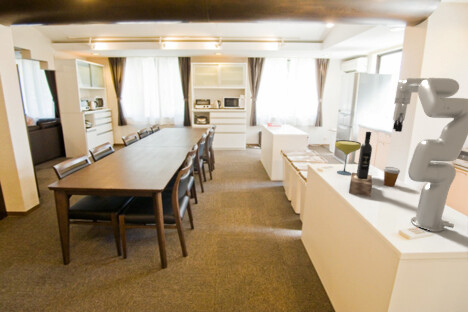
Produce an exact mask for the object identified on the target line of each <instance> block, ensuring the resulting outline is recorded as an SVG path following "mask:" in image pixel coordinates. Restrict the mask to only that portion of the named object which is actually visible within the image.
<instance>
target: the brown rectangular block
mask: <svg viewBox="0 0 468 312" xmlns="http://www.w3.org/2000/svg"><path fill="white" fill-rule="evenodd" d="M350 176H351V177H350V182H349V189H348V194H350V195H351V194H353V195H356V196H363V197H369V198H371V192H372V189H373V181H372V180H373V177H372V176H373V175H371V174H368V178H367V179H359V178H358V177H357V172H351V175H350Z"/></svg>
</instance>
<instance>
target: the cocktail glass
mask: <svg viewBox="0 0 468 312" xmlns="http://www.w3.org/2000/svg"><path fill="white" fill-rule="evenodd" d="M334 145H335V147H336V148H337V150H339V151H341V152H342V153H343V154H344V155H345V160H344V167H343V170H338V171H336V173H337V174H338V175H342V176H352V172H351V171H346V165H347V156H348V155H350V154H351V153H353V152H357V151H360V148H361V146H362V144H361V142H359V141H355V140H345V139H343V140H342V139H339V140H336V141H335V143H334Z"/></svg>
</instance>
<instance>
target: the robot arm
mask: <svg viewBox="0 0 468 312" xmlns="http://www.w3.org/2000/svg"><path fill="white" fill-rule="evenodd" d="M459 89H460V84H459V82H458V81H457V80H455V79H453V78H448V77H447V78H446V77H429V78H427V77H426V78H425V77H420V78H418V77H415V78H414V77H413V78H411V77H408V78H407V77H406V78H403V79H399V80H398V82H397V87H396V92H395V98H394V104H395V107H394V112H393V117H392V121H394V123H393V128H392V130H394V131H395V132H396V133H397V132H399V133H400V132H401V133H402V131H403V126H404V125H403V124H404V121H405V118H406V113H407V110H408V109H407V108H408V107H407V106H408V105H410V104H411V99H412V93H417V94H418V98H419V101H420V104H421V107H422V109H423V112H424V114H425V115H426V117H429V118H433V119H434V118H435V119H436V118H437V119H453V120H451V121H450V122H448V123H447V124H446V125H445V126H444V127H443V128H442V130H441V132H440V136H439V137H438V138H437V139H430V138H427V139H422V140H420V141H419V143H417V145H416V146H415V149H414V152H413V154H412V157H411V161H410V163H409V167H408V171H407V172H408V174H407V175H408V177H409V179H410V180H412V181H413V182H416V183H417V182H418V183H425V184H424V185H423V186H422V188H421V192H420V196H419V200H418V204H417V210H416V212H415V213H416V214H415V216H414V217H411V219H410V223H411V224H413V225H414V226H415V227H417V228H419V227H421V228H425V229H429V230H431V231H430V232H435V233H440V232H443V231H444V228H445V227H446V228H447V227H448V228H450V229H451V228H452V229H454V227H455V224H454V223H452V222H451V223H450V222H449V221H448V220H443V214H444V210H445V206H446V202H447V198H448V194H449V190H450V188H451V186H452V184H453V182H454V180H455V178H456V175H457V170H456V168H455V166H454V165H452V164H451V163H450V162H454V161H456V160H458V158H459V157H460V155H461V152H462V150H463V148H464V145H465V142H466V141H467V138H468V98H466V97H465V98H464V97H453V96H454V95H457V93H458V92H459ZM421 228H420V229H421Z"/></svg>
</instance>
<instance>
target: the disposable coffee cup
mask: <svg viewBox="0 0 468 312" xmlns="http://www.w3.org/2000/svg"><path fill="white" fill-rule="evenodd" d="M383 172H384V173H383V174H384V175H383V185H384V186H386V187H392V188H393V187H395V185H396V182H397V179H398V177H399V174H400V173H401V170H400V168H397V167H394V166H385V167H384V168H383Z"/></svg>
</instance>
